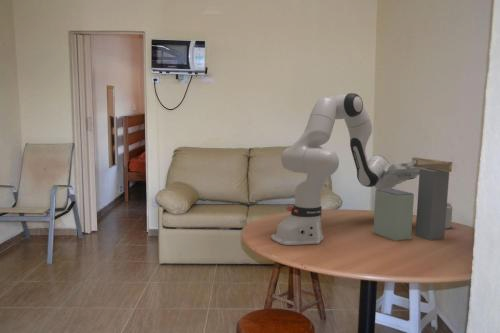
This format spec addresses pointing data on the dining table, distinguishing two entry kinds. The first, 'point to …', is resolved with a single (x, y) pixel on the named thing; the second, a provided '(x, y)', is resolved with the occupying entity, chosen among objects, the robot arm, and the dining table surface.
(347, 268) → the dining table surface
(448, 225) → the can
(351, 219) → the dining table surface
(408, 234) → the grey block
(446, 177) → the pedestal
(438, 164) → the bar
